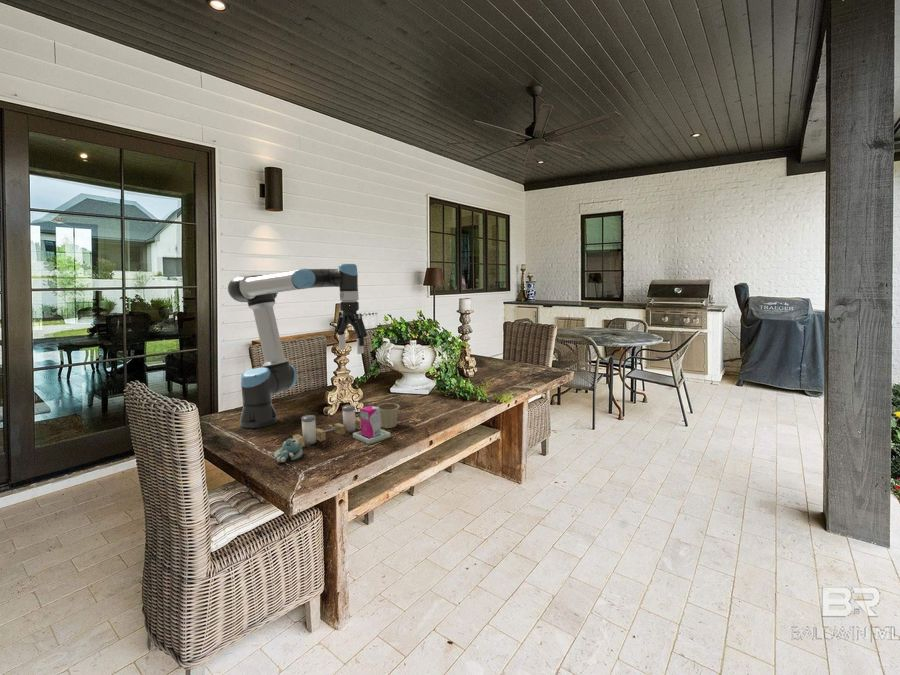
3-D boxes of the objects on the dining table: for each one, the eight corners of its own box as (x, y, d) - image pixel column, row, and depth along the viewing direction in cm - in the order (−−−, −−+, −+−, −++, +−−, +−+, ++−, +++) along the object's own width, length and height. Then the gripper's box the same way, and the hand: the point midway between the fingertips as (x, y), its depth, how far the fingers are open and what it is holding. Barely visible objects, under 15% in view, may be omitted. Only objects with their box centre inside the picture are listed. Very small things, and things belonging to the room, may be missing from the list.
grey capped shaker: (340, 430, 191) (339, 407, 189) (351, 427, 194) (350, 404, 193) (347, 433, 187) (346, 409, 186) (358, 430, 191) (357, 407, 189)
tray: (352, 437, 182) (352, 433, 182) (374, 430, 190) (374, 426, 190) (368, 444, 175) (368, 439, 175) (390, 437, 182) (390, 432, 182)
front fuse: (300, 442, 178) (298, 417, 177) (312, 438, 182) (311, 414, 180) (306, 445, 174) (305, 420, 173) (319, 441, 178) (317, 417, 177)
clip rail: (289, 442, 178) (288, 433, 178) (353, 423, 199) (352, 416, 198) (299, 447, 173) (299, 438, 172) (364, 428, 193) (363, 420, 192)
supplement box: (372, 432, 187) (371, 404, 185) (381, 435, 183) (380, 407, 181) (360, 436, 182) (359, 408, 181) (369, 439, 178) (368, 411, 177)
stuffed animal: (263, 449, 157) (280, 431, 168) (266, 467, 159) (283, 448, 171) (292, 451, 156) (308, 432, 167) (296, 469, 158) (310, 449, 169)
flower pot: (403, 427, 194) (403, 407, 193) (383, 431, 189) (382, 411, 188) (394, 421, 202) (393, 402, 201) (374, 425, 197) (373, 405, 196)
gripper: (325, 300, 197) (328, 349, 200) (358, 303, 180) (360, 356, 183) (340, 299, 202) (343, 347, 206) (374, 302, 185) (376, 353, 188)
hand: (351, 351), depth 194 cm, fingers open, 13 cm apart
